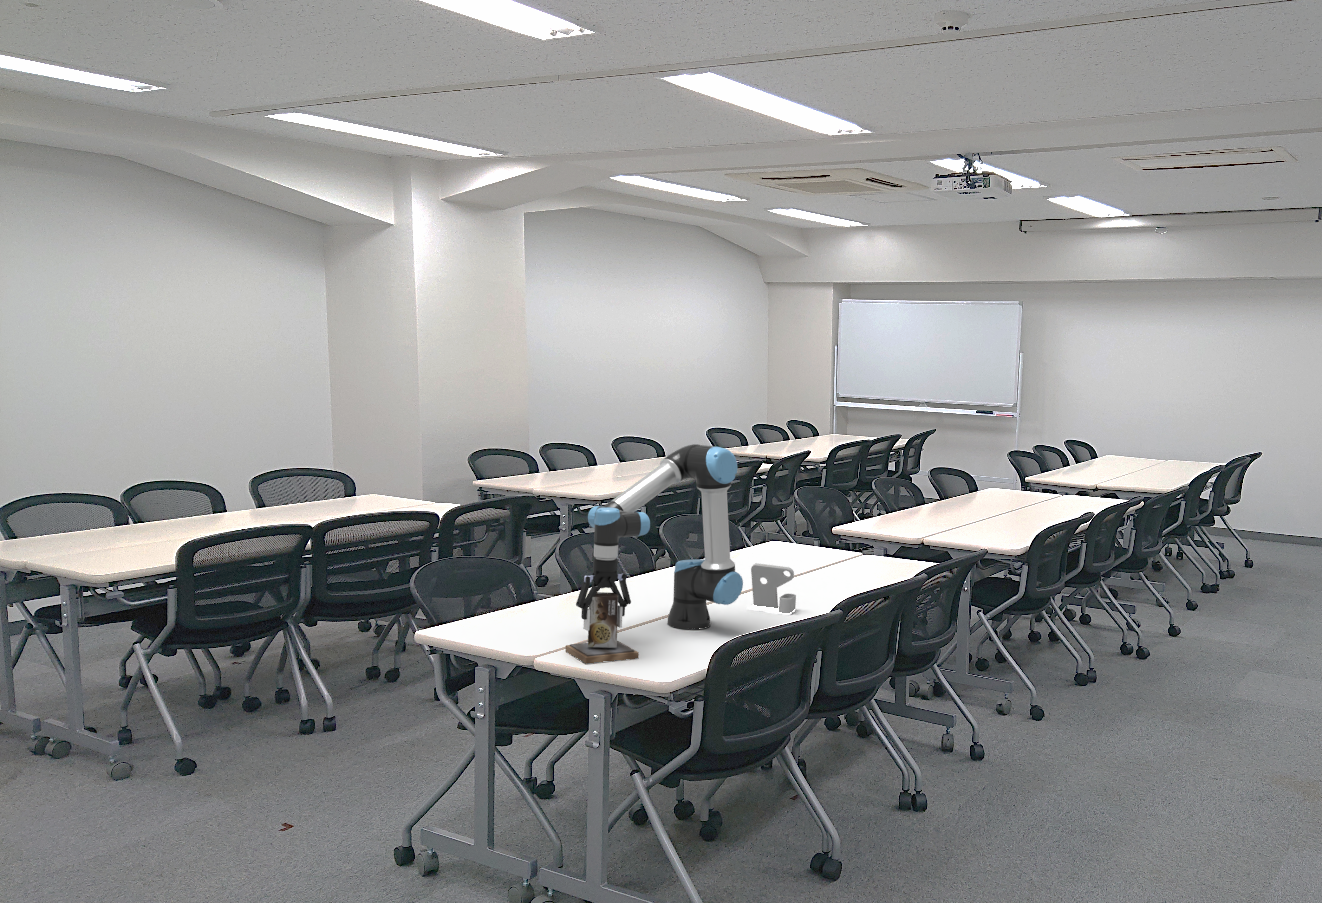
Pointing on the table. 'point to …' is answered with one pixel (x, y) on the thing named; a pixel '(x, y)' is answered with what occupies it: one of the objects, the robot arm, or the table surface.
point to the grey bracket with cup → (772, 587)
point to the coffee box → (603, 620)
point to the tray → (601, 652)
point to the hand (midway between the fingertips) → (602, 628)
